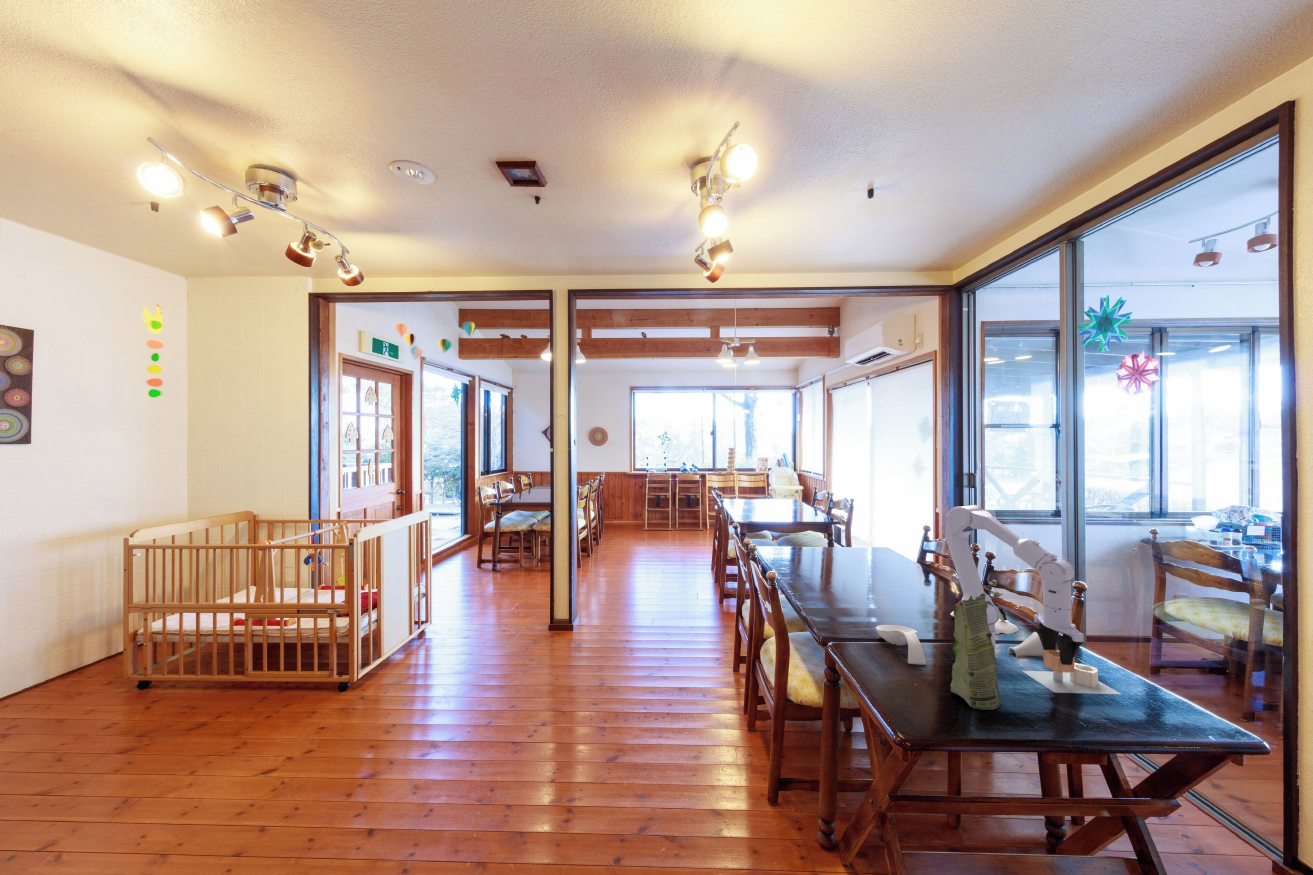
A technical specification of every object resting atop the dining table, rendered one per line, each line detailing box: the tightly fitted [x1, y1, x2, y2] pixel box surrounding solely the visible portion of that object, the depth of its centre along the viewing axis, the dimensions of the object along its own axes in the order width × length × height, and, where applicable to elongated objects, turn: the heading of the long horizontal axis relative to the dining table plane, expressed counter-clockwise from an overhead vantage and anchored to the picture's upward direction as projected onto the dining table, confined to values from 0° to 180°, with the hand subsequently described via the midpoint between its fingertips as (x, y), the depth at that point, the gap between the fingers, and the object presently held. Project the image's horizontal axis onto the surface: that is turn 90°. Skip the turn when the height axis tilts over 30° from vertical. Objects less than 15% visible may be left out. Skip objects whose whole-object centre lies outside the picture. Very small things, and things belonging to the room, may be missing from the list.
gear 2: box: [1070, 662, 1099, 687], centre depth 130 cm, size 5×5×4 cm
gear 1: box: [1042, 649, 1075, 673], centre depth 130 cm, size 5×5×4 cm
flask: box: [1007, 631, 1044, 658], centre depth 147 cm, size 7×7×10 cm
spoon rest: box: [875, 624, 927, 666], centre depth 153 cm, size 24×12×7 cm, turn 173°
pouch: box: [950, 593, 1002, 711], centre depth 122 cm, size 11×12×25 cm
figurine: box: [950, 579, 1019, 635], centre depth 175 cm, size 20×18×16 cm
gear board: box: [1022, 663, 1123, 695], centre depth 129 cm, size 16×12×5 cm
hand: (1057, 659), depth 130 cm, fingers closed on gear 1, 5 cm apart
